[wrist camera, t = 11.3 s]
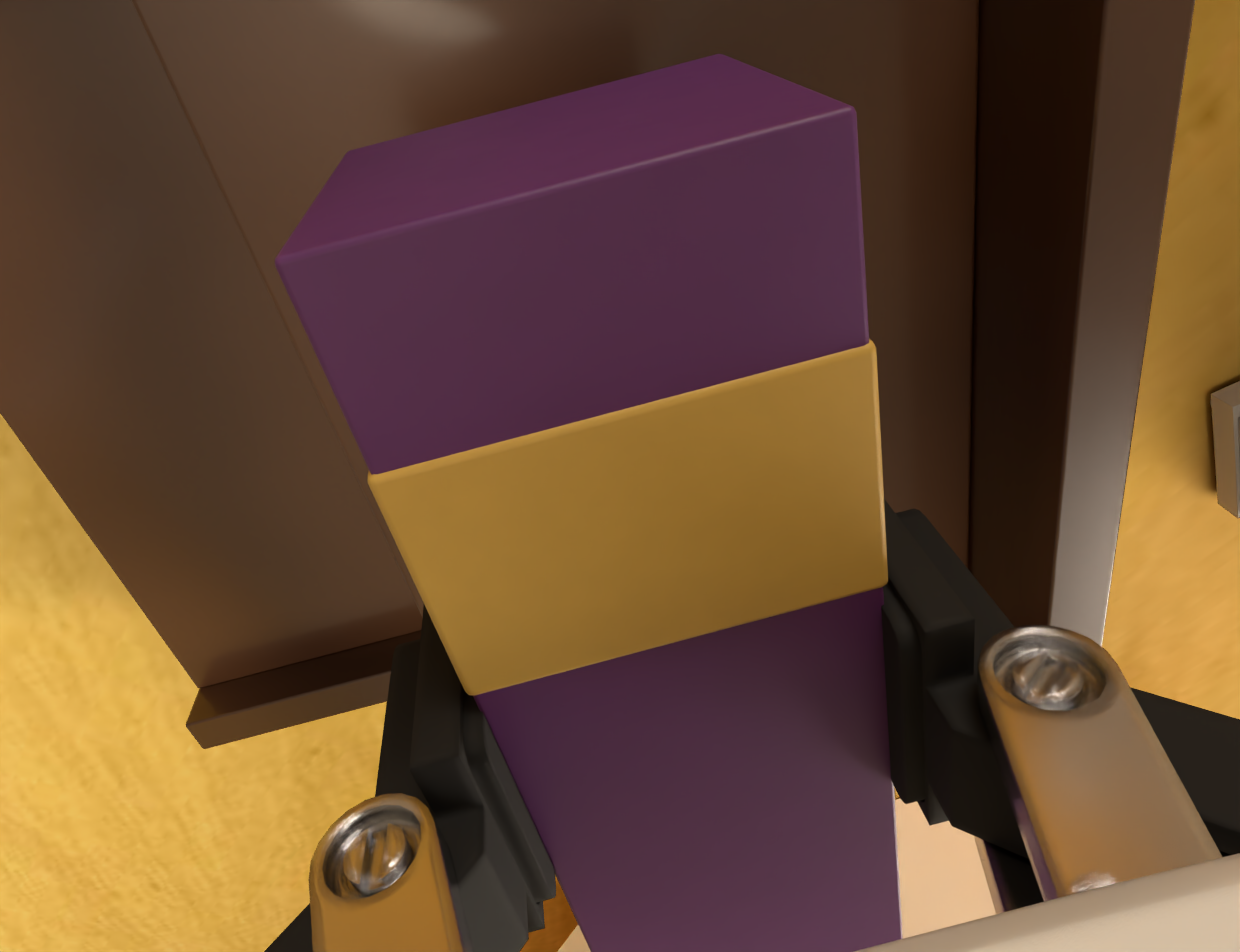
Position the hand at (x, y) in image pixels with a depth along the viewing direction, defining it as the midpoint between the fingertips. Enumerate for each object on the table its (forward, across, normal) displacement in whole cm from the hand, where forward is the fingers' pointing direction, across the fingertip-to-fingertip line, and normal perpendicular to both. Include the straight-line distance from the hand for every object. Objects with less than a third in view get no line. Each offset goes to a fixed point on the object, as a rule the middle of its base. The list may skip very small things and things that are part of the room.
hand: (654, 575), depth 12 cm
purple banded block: (+1, 0, 0) cm, 1 cm away
